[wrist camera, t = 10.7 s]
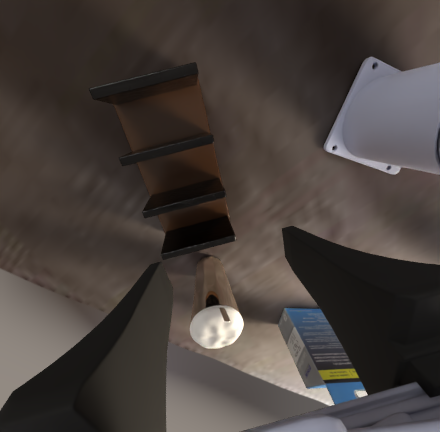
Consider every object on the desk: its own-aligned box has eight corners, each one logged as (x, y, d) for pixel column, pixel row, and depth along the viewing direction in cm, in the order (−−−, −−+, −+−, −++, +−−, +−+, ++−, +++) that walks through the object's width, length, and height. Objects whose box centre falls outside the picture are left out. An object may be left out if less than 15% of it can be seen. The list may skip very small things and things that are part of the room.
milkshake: (233, 247, 24) (258, 322, 15) (224, 282, 26) (241, 367, 17) (194, 243, 23) (196, 320, 14) (188, 280, 25) (186, 368, 16)
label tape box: (276, 325, 31) (324, 439, 20) (284, 305, 29) (341, 416, 18) (328, 325, 32) (399, 430, 21) (338, 306, 31) (421, 409, 20)
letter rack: (113, 98, 17) (84, 89, 12) (197, 77, 17) (199, 60, 12) (166, 232, 22) (160, 260, 18) (229, 216, 22) (238, 240, 18)
